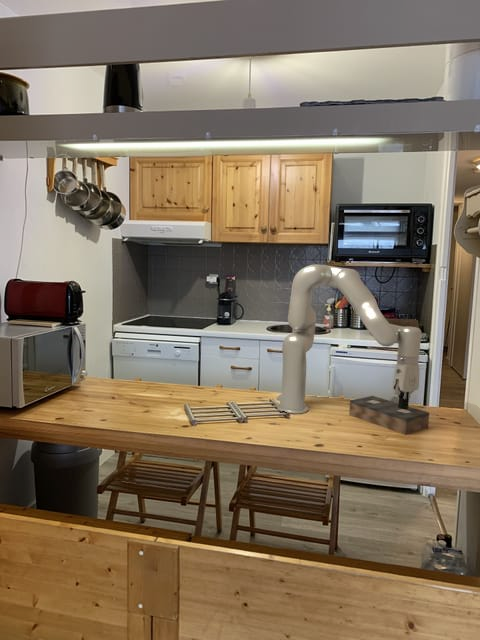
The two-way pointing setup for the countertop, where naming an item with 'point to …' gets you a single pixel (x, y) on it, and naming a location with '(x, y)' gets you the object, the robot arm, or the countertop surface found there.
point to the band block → (389, 415)
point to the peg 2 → (404, 411)
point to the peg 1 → (373, 401)
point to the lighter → (394, 399)
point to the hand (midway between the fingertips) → (402, 408)
